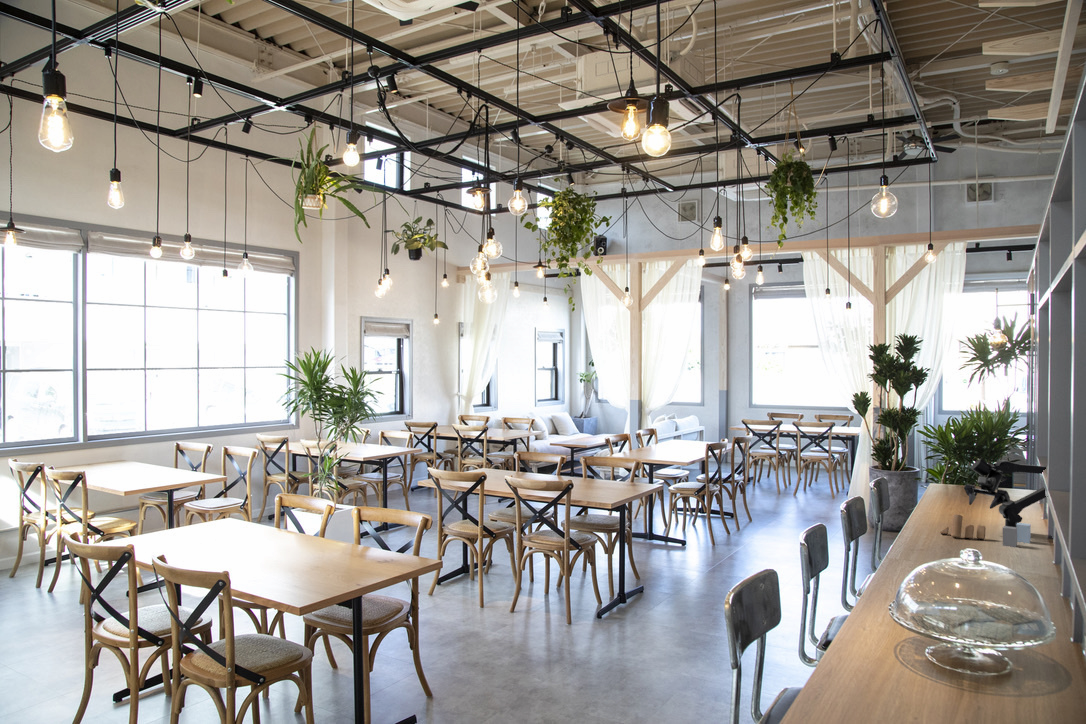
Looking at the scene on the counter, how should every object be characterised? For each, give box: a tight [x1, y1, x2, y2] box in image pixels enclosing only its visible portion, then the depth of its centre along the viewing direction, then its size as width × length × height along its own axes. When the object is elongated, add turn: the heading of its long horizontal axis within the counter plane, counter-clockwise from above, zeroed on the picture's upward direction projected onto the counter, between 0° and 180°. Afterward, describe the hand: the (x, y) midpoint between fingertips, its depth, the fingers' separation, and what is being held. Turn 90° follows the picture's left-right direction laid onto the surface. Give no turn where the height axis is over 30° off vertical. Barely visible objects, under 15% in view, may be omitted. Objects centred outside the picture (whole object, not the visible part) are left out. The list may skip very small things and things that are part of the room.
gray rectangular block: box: [1002, 525, 1018, 548], centre depth 321 cm, size 5×5×8 cm
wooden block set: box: [939, 513, 987, 541], centre depth 336 cm, size 18×9×10 cm, turn 54°
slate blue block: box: [1016, 522, 1032, 544], centre depth 329 cm, size 5×5×8 cm
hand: (979, 506), depth 342 cm, fingers open, 9 cm apart
